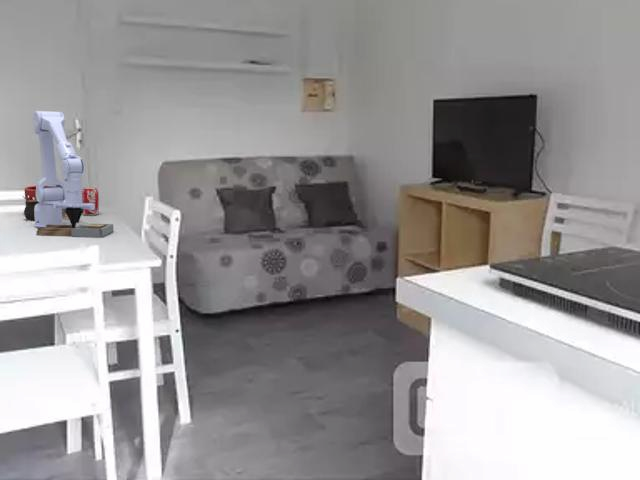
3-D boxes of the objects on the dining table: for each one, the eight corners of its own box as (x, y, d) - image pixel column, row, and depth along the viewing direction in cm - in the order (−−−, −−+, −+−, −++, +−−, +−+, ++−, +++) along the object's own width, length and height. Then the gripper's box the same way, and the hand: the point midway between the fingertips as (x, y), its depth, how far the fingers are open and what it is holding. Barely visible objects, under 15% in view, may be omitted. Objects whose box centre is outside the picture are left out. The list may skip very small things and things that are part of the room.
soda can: (102, 214, 281) (101, 187, 279) (92, 216, 275) (91, 188, 273) (89, 213, 284) (88, 186, 281) (78, 215, 277) (77, 187, 275)
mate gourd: (41, 221, 259) (39, 196, 257) (21, 221, 258) (19, 197, 256) (45, 218, 266) (43, 194, 264) (25, 218, 264) (24, 194, 263)
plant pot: (19, 214, 274) (17, 187, 272) (46, 211, 285) (45, 185, 283) (38, 217, 268) (36, 189, 266) (65, 214, 279) (63, 187, 277)
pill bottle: (61, 217, 270) (59, 194, 268) (74, 217, 271) (73, 194, 269) (56, 219, 264) (55, 195, 263) (70, 219, 265) (69, 195, 263)
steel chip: (74, 230, 231) (76, 222, 230) (79, 228, 235) (80, 220, 234) (86, 233, 231) (88, 225, 230) (90, 231, 235) (92, 224, 234)
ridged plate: (36, 235, 228) (36, 228, 228) (48, 230, 238) (48, 224, 237) (72, 236, 228) (72, 229, 227) (83, 231, 238) (83, 225, 237)
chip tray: (71, 236, 227) (71, 228, 226) (84, 231, 239) (84, 223, 238) (102, 237, 227) (101, 229, 226) (113, 232, 239) (113, 224, 238)
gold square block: (88, 234, 231) (88, 225, 230) (92, 232, 235) (92, 224, 234) (101, 234, 231) (100, 226, 230) (104, 232, 235) (104, 224, 234)
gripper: (48, 192, 226) (50, 229, 229) (89, 193, 226) (90, 230, 228) (57, 190, 233) (59, 226, 236) (96, 191, 233) (97, 227, 235)
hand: (75, 228), depth 232 cm, fingers closed
